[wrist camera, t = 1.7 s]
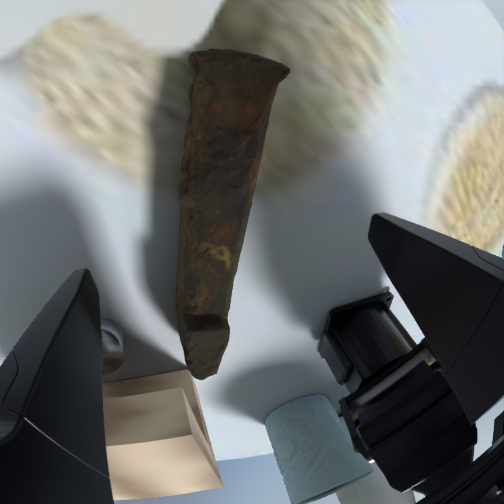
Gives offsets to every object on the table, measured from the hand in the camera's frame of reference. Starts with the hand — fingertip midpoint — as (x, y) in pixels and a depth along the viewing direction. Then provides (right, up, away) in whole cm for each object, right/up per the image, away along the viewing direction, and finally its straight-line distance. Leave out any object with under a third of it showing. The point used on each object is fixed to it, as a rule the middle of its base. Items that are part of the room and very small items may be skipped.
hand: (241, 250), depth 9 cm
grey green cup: (+6, -20, +27) cm, 34 cm away
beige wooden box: (-10, -9, +12) cm, 18 cm away
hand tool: (-2, +1, +9) cm, 9 cm away
